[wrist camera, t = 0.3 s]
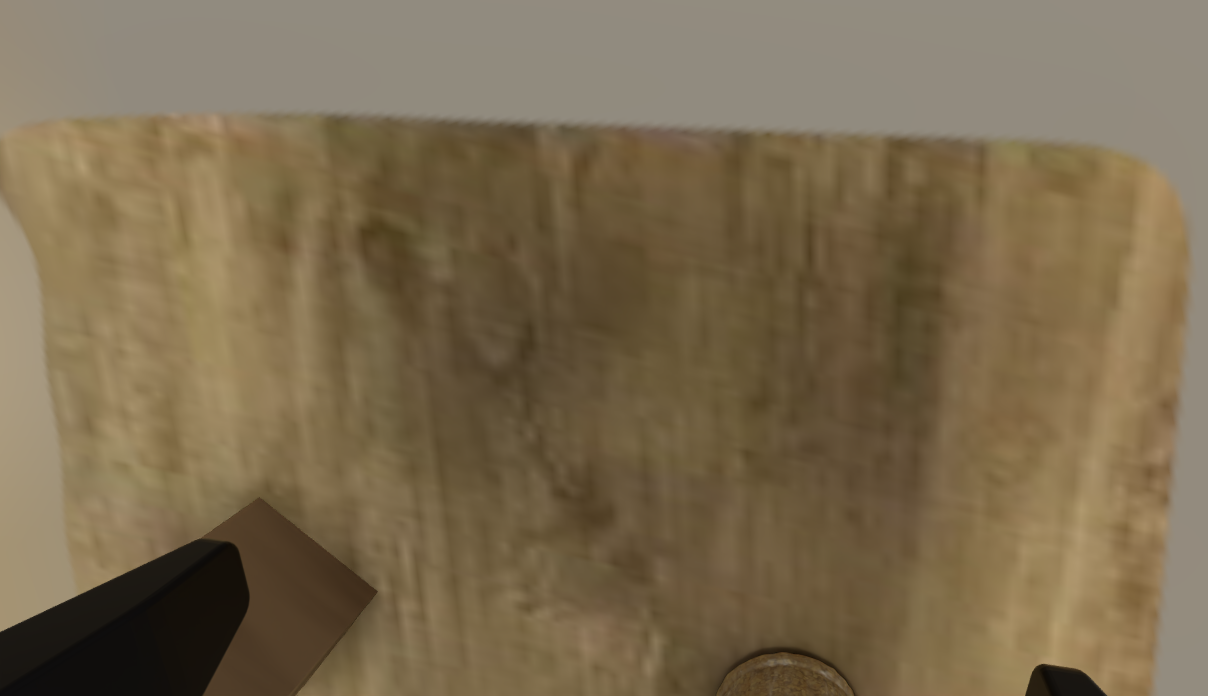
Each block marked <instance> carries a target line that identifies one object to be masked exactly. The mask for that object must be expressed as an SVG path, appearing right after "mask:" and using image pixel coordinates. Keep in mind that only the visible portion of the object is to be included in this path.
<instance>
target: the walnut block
mask: <svg viewBox="0 0 1208 696" xmlns="http://www.w3.org/2000/svg"><path fill="white" fill-rule="evenodd" d="M202 538H211V539H217V540H224V541H230V542H232V543H234V544H235V545H236V547H237V548H238V549H239V552H240V556H241V560H242V564H243V568H244V571H245V575H246V579H247V583H248V587H249V592H250V602H249V607H248V610H247V613H246V615H245V617H244V619H243V621H242V623H241V625H240V627H239V629H238V631H237V632H236V634H235V636H234V638H233V640H232V642H231V644H230V646H229V648H228V649H227V651H226V653H225V655H224V657H223V659H222V661H221V663H220V665H219V667H218V668H217V670H216V672H215V674H214V676H213V678H212V680H211V682H210V684H209V685H208V687H207V689H206V691H205V693H204V695H203V696H296V694H297V693H298V692H299V691H300V690H301V688H302V687H303V686H304V685H305V684H306V682H307V681H308V680H309V678H310V677H311V676H312V675H313V673H314V672H315V671H316V670H317V668H318V667H319V666H320V664H321V663H322V662H323V661H324V659H325V658H326V657H327V656H328V654H329V653H330V652H331V650H332V649H333V648H334V647H335V645H336V644H337V643H338V642H339V640H340V639H341V638H342V636H343V635H344V634H345V633H346V631H347V630H348V629H349V628H350V626H351V625H352V624H353V622H354V621H355V620H356V619H357V617H358V616H359V615H360V614H361V612H362V611H363V610H364V608H365V607H366V606H367V605H368V603H369V602H370V601H371V600H372V598H373V597H374V596H375V594H376V593H377V591H376V590H375V589H374V588H372V587H371V586H370V585H369V584H367V583H366V582H365V581H364V580H362V579H361V578H360V577H359V576H357V575H356V574H355V573H354V572H352V571H351V570H350V569H349V568H347V567H346V566H345V565H344V564H342V563H341V562H340V561H339V560H337V559H336V558H335V557H334V556H332V555H331V554H330V553H329V552H327V551H326V550H325V549H324V548H322V547H321V546H320V545H319V544H317V543H316V542H315V541H314V540H312V539H311V538H310V537H309V536H307V535H306V534H305V533H304V532H302V531H301V530H300V529H299V528H297V527H296V526H295V525H294V524H292V523H291V522H290V521H289V520H287V519H286V518H285V517H283V516H282V515H281V514H280V513H278V512H277V511H276V510H275V509H273V508H272V507H271V506H270V505H268V504H267V503H266V502H265V501H263V500H262V499H261V498H260V497H259V498H258V499H256V500H255V501H253V502H252V503H251V504H249V505H248V506H246V507H245V508H243V509H242V510H241V511H239V512H238V513H236V514H235V515H233V516H232V517H231V518H229V519H228V520H226V521H225V522H223V523H222V524H221V525H219V526H218V527H216V528H215V529H214V530H212V531H211V532H209V533H208V534H206V535H205V536H204V537H202Z"/></svg>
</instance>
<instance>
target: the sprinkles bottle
mask: <svg viewBox="0 0 1208 696" xmlns="http://www.w3.org/2000/svg"><path fill="white" fill-rule="evenodd" d="M716 696H854V694H853V691H852V689H851V688H850V687H849V685H848V684H847V682H846V681H845V679H844V678H842V677H841V676H840V675H839V674H838V673H837V672H836V670H835V669H833V668H831V667H829V666H827V665H825V664H824V663H822V662H821V661H819V660H816V659H813V658H810V657H807V656H803V655H799V654H791V653H787V652H778V653H776V654H765V655H761V656H758V657H755V658H753V659H750V660H748V661H747V662H745V663H743V664H740V665H739V666H738V667H737V668H735V669H734V670H732V671H731V672H730V673H728V674H727V676H726V677H725V679H724V681H723V683H722V685H721V686H720V688H719V689H718V691H717V694H716Z"/></svg>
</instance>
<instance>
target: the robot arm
mask: <svg viewBox="0 0 1208 696" xmlns="http://www.w3.org/2000/svg"><path fill="white" fill-rule="evenodd" d="M249 602H250V592H249V587H248V583H247V579H246V575H245V571H244V568H243V564H242V560H241V556H240V552H239V549H238V548H237V547H236V545H235V544H234V543H232V542H230V541H224V540H217V539H211V538H201V539H198V540H195V541H193V542H191V543H189V544H187V545H184V546H182V547H180V548H178V549H176V550H174V551H172V552H170V553H167V554H165V555H163V556H161V557H159V558H157V559H155V560H153V561H150V562H148V563H146V564H144V565H142V566H140V567H138V568H136V569H133V570H131V571H129V572H127V573H125V574H123V575H121V576H118V577H116V578H114V579H112V580H110V581H108V582H106V583H104V584H101V585H99V586H97V587H95V588H93V589H91V590H89V591H87V592H84V593H82V594H80V595H78V596H76V597H74V598H72V599H70V600H67V601H65V602H63V603H61V604H59V605H57V606H55V607H53V608H50V609H48V610H46V611H44V612H42V613H40V614H38V615H36V616H33V617H31V618H29V619H27V620H25V621H23V622H21V623H18V624H16V625H14V626H12V627H10V628H8V629H6V630H4V631H1V632H0V696H203V695H204V693H205V691H206V689H207V687H208V685H209V684H210V682H211V680H212V678H213V676H214V674H215V672H216V670H217V668H218V667H219V665H220V663H221V661H222V659H223V657H224V655H225V653H226V651H227V649H228V648H229V646H230V644H231V642H232V640H233V638H234V636H235V634H236V632H237V631H238V629H239V627H240V625H241V623H242V621H243V619H244V617H245V615H246V613H247V610H248V607H249ZM1025 696H1107V695H1106V694H1105V693H1104V692H1103V691H1102V690H1101V689H1100V688H1099V687H1098V686H1097V685H1096V684H1095V682H1094V681H1093V680H1092V679H1091V678H1090V677H1089V676H1088V675H1087V674H1085V673H1084V672H1082V671H1081V670H1078V669H1074V668H1068V667H1061V666H1055V665H1048V664H1041V665H1038V666H1036V667H1035V669H1034V670H1033V672H1032V675H1031V678H1030V681H1029V684H1028V688H1027V691H1026V695H1025Z"/></svg>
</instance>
